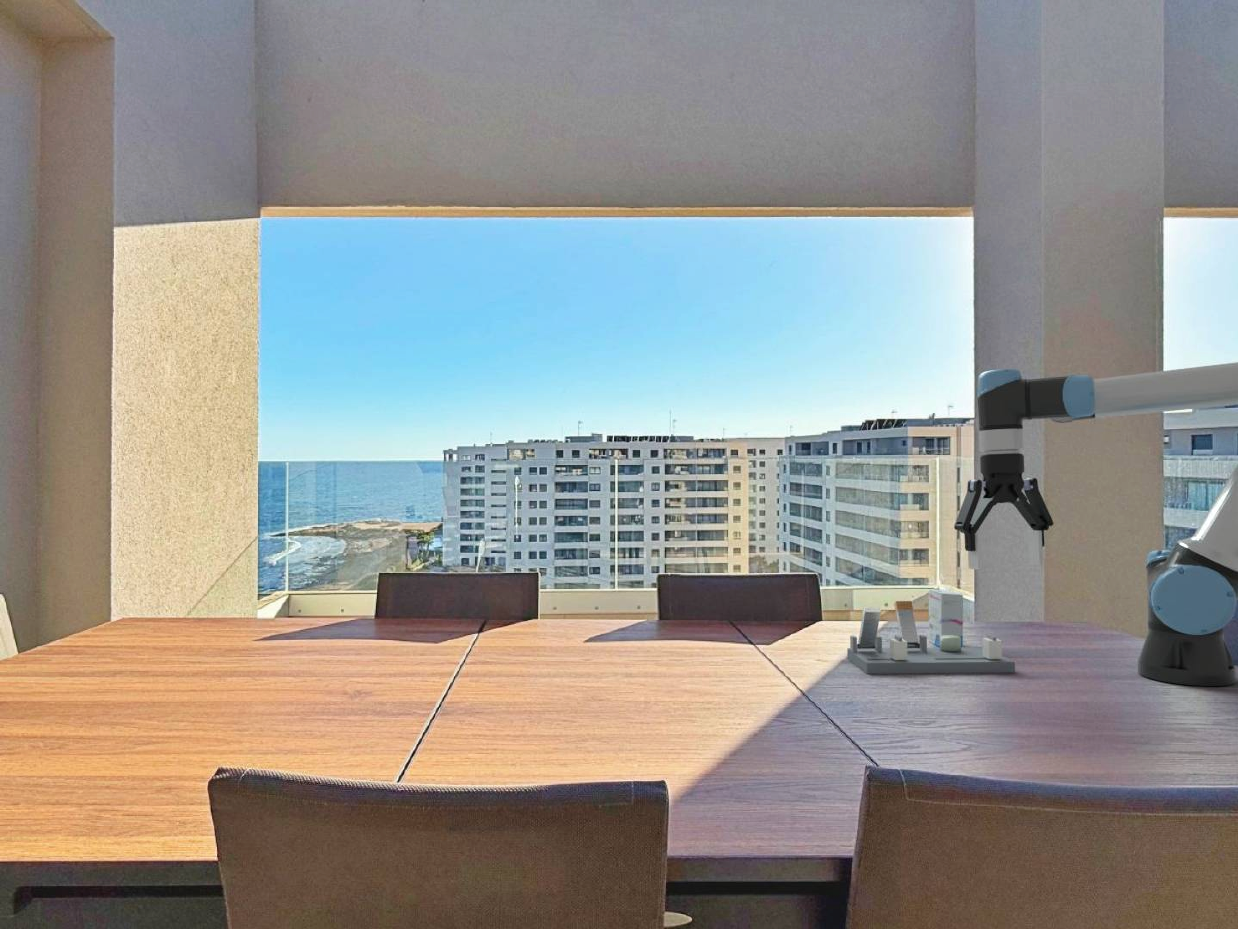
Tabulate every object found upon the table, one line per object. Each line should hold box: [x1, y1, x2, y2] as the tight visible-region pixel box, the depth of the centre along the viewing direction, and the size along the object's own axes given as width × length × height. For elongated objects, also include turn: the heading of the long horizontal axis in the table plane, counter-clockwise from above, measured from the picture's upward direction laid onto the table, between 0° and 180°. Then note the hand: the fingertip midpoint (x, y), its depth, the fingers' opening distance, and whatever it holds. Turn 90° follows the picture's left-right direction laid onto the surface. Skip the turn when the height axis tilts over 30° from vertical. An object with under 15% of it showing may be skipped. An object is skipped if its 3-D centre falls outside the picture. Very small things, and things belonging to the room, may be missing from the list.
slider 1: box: [889, 635, 907, 660], centre depth 168 cm, size 2×3×4 cm
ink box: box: [928, 588, 964, 648], centre depth 192 cm, size 9×5×12 cm, turn 179°
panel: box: [846, 634, 1016, 675], centre depth 172 cm, size 28×14×5 cm, turn 90°
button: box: [939, 635, 961, 651], centre depth 176 cm, size 4×4×2 cm
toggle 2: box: [893, 600, 920, 648], centre depth 178 cm, size 3×1×10 cm, turn 90°
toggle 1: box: [857, 607, 882, 649], centre depth 174 cm, size 3×1×10 cm, turn 90°
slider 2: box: [981, 634, 1003, 659], centre depth 168 cm, size 2×3×4 cm
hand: (1005, 567), depth 162 cm, fingers open, 13 cm apart
